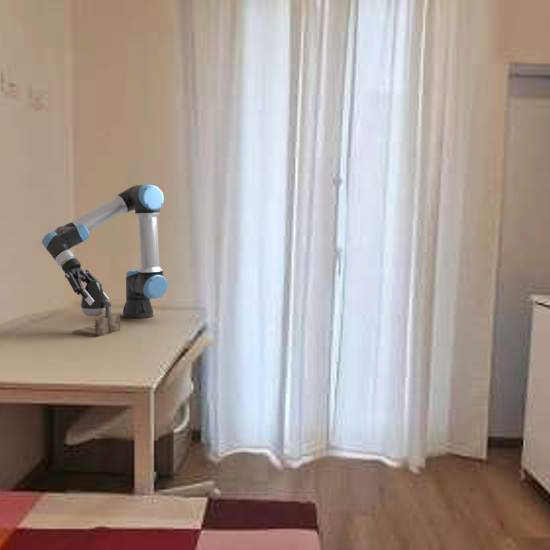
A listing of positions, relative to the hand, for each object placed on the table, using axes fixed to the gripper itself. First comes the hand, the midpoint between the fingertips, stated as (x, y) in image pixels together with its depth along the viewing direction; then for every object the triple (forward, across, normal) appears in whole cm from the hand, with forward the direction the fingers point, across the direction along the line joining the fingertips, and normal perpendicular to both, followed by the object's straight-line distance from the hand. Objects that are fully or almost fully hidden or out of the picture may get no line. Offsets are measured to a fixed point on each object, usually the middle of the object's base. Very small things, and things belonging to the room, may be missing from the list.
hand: (99, 302), depth 275 cm
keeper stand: (+8, 0, -11) cm, 13 cm away
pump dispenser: (+2, 0, -6) cm, 7 cm away
